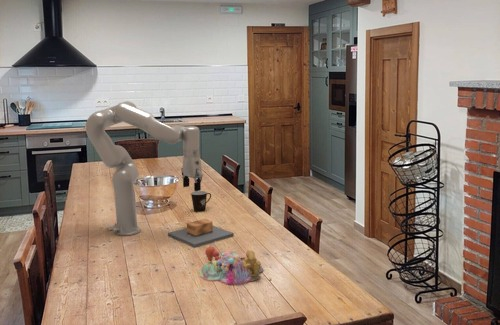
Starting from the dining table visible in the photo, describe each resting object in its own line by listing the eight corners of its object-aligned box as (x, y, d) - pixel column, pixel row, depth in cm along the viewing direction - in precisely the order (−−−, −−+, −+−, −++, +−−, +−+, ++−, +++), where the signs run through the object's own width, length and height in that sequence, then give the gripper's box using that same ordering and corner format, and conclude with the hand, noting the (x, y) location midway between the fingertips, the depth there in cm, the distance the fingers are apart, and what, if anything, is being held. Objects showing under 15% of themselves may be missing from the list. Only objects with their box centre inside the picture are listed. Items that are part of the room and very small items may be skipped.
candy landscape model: (259, 260, 216) (259, 238, 214) (267, 283, 193) (267, 260, 192) (198, 264, 214) (197, 242, 212) (199, 288, 191) (198, 264, 189)
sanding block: (195, 237, 241) (194, 226, 240) (187, 233, 245) (186, 223, 245) (212, 232, 247) (212, 221, 246) (204, 228, 252) (204, 218, 251)
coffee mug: (193, 213, 284) (192, 195, 282) (190, 209, 292) (189, 191, 290) (214, 211, 287) (213, 193, 285) (211, 207, 295) (210, 189, 293)
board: (194, 247, 231) (194, 244, 231) (167, 235, 248) (167, 232, 248) (233, 236, 245) (233, 232, 245) (205, 225, 262) (205, 222, 262)
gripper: (208, 154, 241) (208, 191, 245) (188, 149, 255) (188, 184, 258) (194, 156, 237) (195, 193, 240) (174, 151, 250) (175, 186, 253)
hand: (191, 188), depth 249 cm, fingers open, 9 cm apart
